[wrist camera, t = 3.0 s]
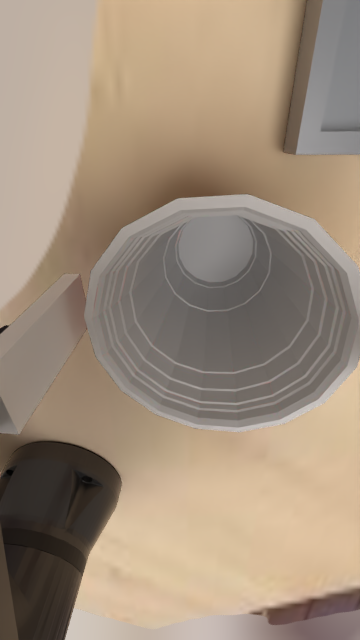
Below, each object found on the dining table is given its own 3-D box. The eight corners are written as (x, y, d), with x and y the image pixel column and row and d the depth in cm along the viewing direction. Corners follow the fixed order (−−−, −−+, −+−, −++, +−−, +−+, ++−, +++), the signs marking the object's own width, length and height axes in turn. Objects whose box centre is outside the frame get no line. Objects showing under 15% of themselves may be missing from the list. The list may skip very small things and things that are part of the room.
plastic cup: (141, 151, 18) (60, 170, 8) (312, 175, 18) (441, 222, 8) (136, 301, 24) (84, 420, 14) (265, 319, 24) (307, 452, 14)
